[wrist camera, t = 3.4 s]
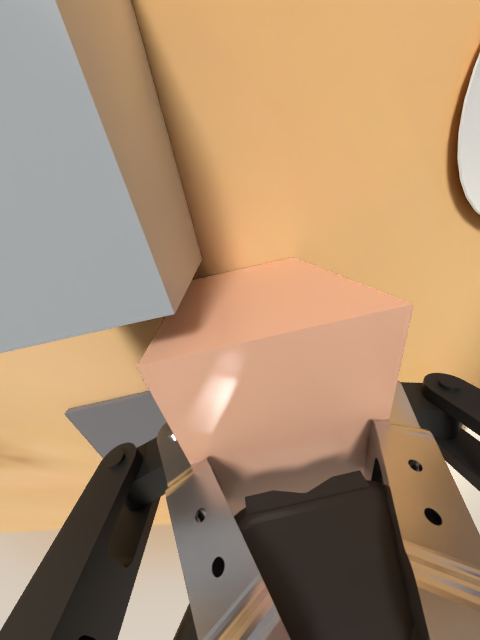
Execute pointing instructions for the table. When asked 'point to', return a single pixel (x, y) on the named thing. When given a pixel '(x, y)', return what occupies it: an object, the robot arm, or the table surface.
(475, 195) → the pudding
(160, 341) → the cover terracotta
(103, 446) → the mat
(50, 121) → the plate
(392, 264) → the table surface
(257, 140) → the table surface
